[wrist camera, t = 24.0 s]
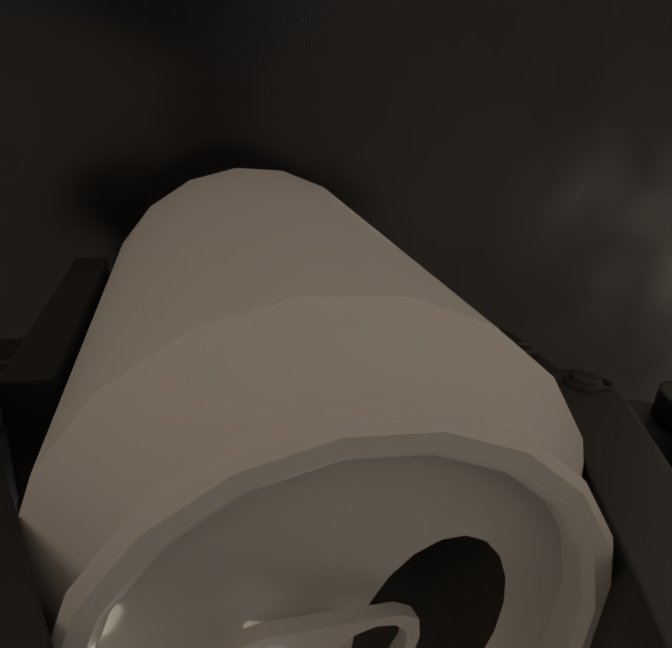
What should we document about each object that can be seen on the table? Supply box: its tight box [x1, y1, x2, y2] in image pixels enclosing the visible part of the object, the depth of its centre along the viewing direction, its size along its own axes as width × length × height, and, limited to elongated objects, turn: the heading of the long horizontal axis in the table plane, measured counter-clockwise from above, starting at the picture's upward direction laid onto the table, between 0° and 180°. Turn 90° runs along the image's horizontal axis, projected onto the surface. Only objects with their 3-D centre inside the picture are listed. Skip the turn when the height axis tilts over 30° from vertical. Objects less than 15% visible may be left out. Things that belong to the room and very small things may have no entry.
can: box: [18, 168, 613, 648], centre depth 11 cm, size 8×8×12 cm
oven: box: [0, 0, 672, 516], centre depth 33 cm, size 32×40×26 cm
